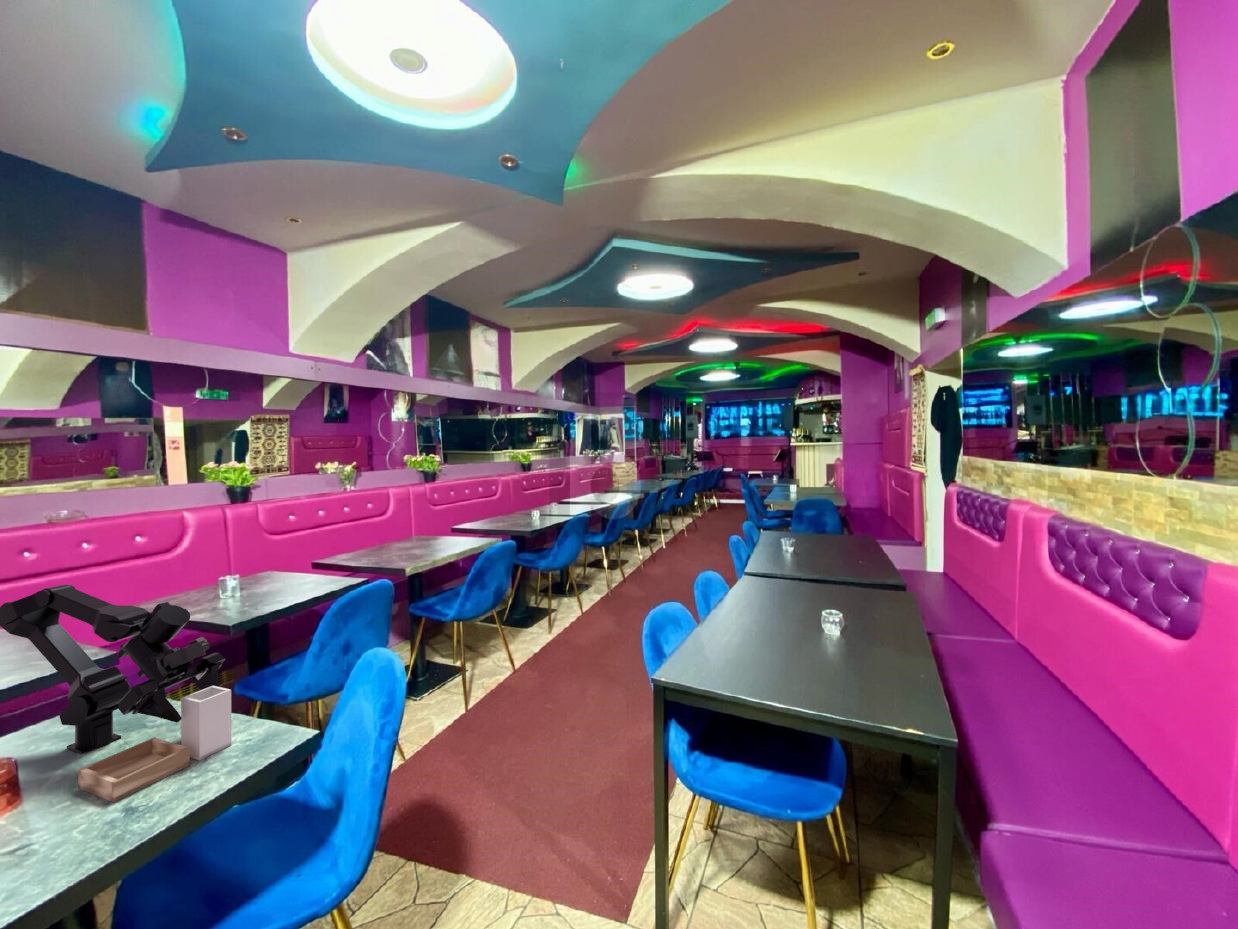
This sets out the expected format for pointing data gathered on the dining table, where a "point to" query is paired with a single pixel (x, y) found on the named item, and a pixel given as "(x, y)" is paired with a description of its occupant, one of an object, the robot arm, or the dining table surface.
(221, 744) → the white square vase
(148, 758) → the tray
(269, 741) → the dining table surface
